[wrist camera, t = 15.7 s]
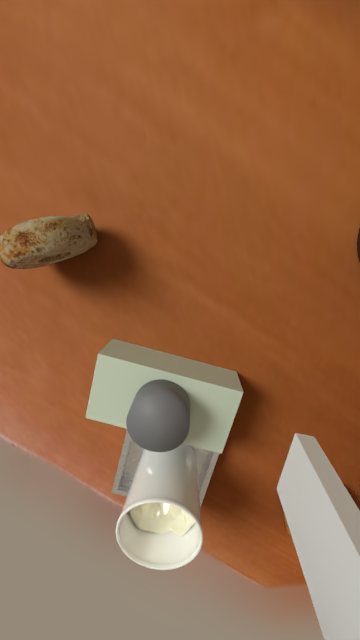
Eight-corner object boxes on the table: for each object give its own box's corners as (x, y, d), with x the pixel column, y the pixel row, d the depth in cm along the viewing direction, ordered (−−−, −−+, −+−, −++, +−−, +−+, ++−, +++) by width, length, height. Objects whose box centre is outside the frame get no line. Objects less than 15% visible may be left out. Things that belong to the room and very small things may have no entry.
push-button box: (236, 371, 39) (249, 410, 30) (217, 427, 42) (223, 481, 32) (112, 338, 39) (85, 367, 29) (100, 396, 41) (71, 440, 32)
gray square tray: (222, 430, 42) (223, 441, 39) (197, 501, 45) (197, 515, 43) (134, 407, 42) (130, 416, 39) (116, 480, 45) (111, 492, 43)
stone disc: (41, 272, 38) (-13, 279, 28) (29, 245, 37) (-31, 243, 27) (111, 244, 36) (80, 242, 26) (100, 216, 35) (63, 202, 26)
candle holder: (206, 481, 43) (210, 566, 32) (145, 489, 44) (127, 574, 33) (194, 426, 41) (193, 495, 29) (130, 436, 42) (105, 506, 30)
